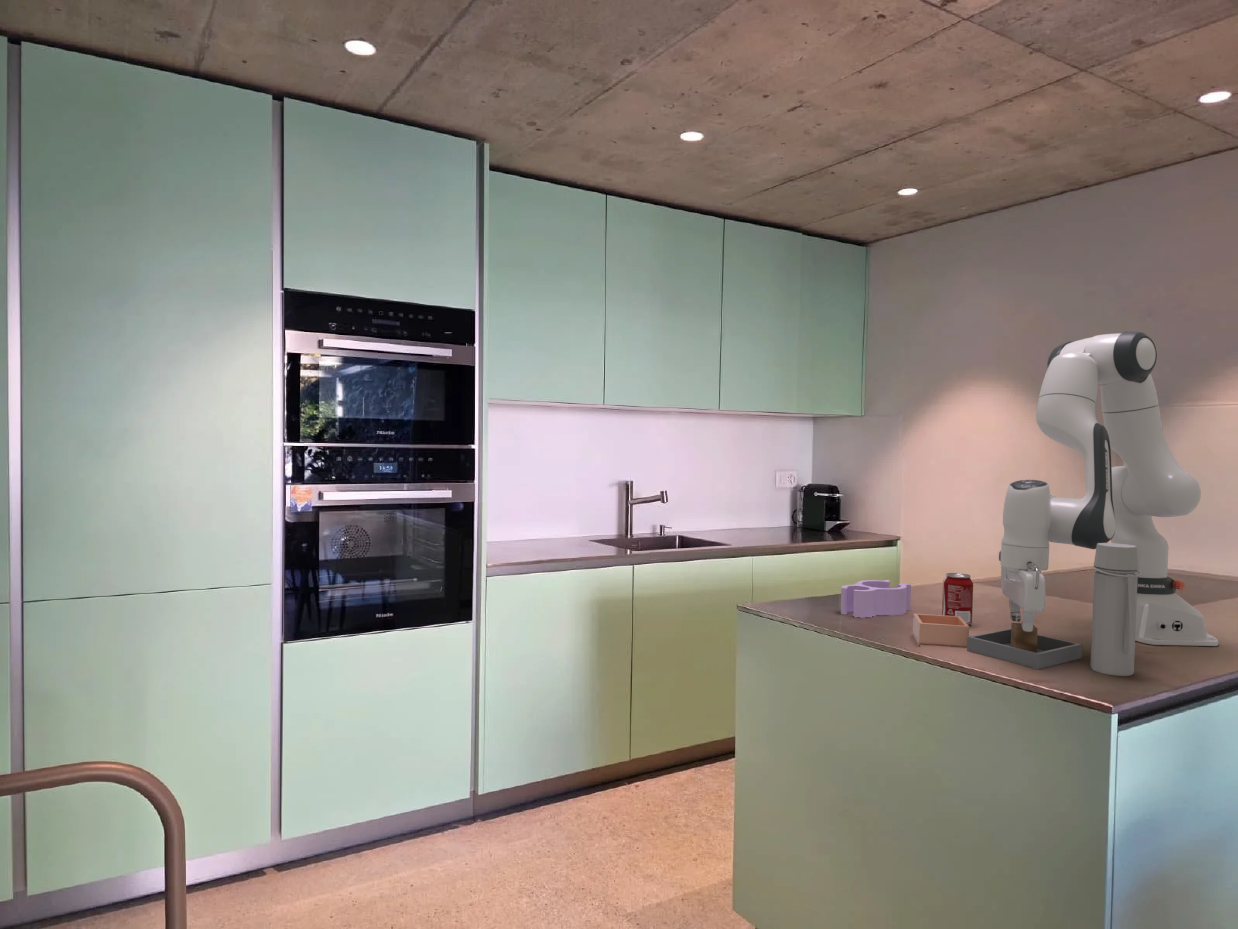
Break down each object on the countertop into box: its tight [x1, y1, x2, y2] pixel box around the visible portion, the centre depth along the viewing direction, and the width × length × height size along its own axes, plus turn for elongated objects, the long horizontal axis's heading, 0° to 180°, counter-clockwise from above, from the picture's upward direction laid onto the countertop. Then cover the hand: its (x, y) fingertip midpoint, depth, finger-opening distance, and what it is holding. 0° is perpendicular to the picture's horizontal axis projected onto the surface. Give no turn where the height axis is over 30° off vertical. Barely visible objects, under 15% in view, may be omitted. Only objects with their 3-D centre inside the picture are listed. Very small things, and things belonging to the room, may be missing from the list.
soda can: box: [941, 572, 974, 626], centre depth 196 cm, size 7×7×12 cm
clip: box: [840, 579, 912, 619], centre depth 209 cm, size 20×12×7 cm, turn 124°
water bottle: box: [1090, 542, 1142, 677], centre depth 155 cm, size 9×8×25 cm
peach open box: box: [912, 613, 970, 648], centre depth 178 cm, size 10×10×5 cm
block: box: [1010, 622, 1039, 653], centre depth 167 cm, size 4×4×6 cm
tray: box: [966, 627, 1083, 670], centre depth 167 cm, size 15×15×4 cm
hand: (1020, 625), depth 167 cm, fingers open, 8 cm apart
